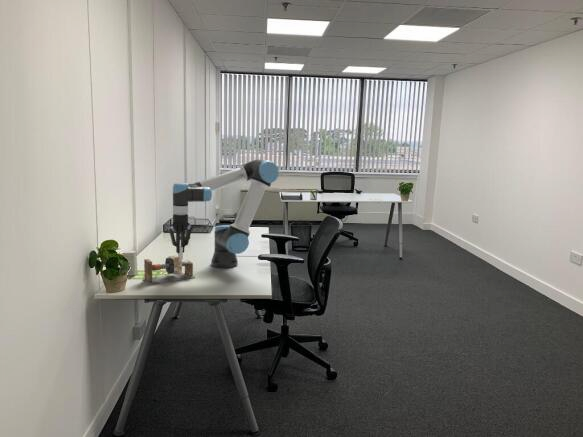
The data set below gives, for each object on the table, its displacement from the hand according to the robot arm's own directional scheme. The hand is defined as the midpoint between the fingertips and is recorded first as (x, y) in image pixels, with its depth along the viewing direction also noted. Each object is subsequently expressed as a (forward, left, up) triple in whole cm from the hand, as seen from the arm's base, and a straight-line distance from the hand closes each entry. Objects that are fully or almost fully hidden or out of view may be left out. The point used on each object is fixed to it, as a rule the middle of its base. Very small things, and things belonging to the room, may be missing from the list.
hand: (180, 258), depth 223 cm
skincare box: (+25, -8, -10) cm, 28 cm away
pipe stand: (+5, +2, -10) cm, 12 cm away
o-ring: (+5, +2, -7) cm, 9 cm away
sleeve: (+2, +1, -7) cm, 7 cm away
